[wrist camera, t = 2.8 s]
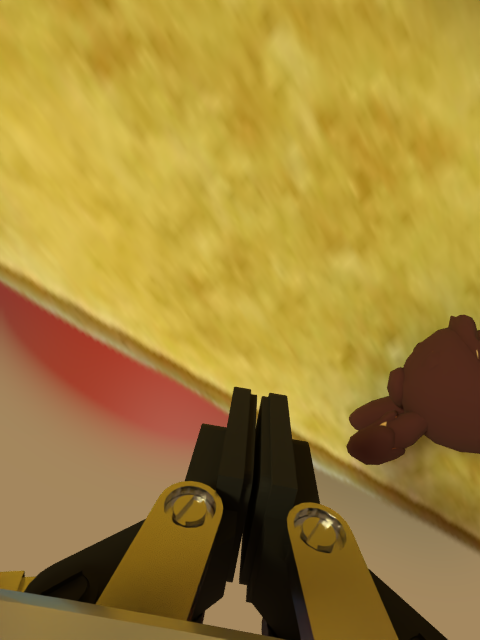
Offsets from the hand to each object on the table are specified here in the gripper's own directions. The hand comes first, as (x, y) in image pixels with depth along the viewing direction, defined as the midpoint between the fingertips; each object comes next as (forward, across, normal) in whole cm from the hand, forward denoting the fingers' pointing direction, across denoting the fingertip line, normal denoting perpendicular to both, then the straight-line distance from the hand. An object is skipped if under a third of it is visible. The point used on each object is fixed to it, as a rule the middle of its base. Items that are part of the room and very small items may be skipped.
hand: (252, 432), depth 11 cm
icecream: (+11, -12, 0) cm, 16 cm away
